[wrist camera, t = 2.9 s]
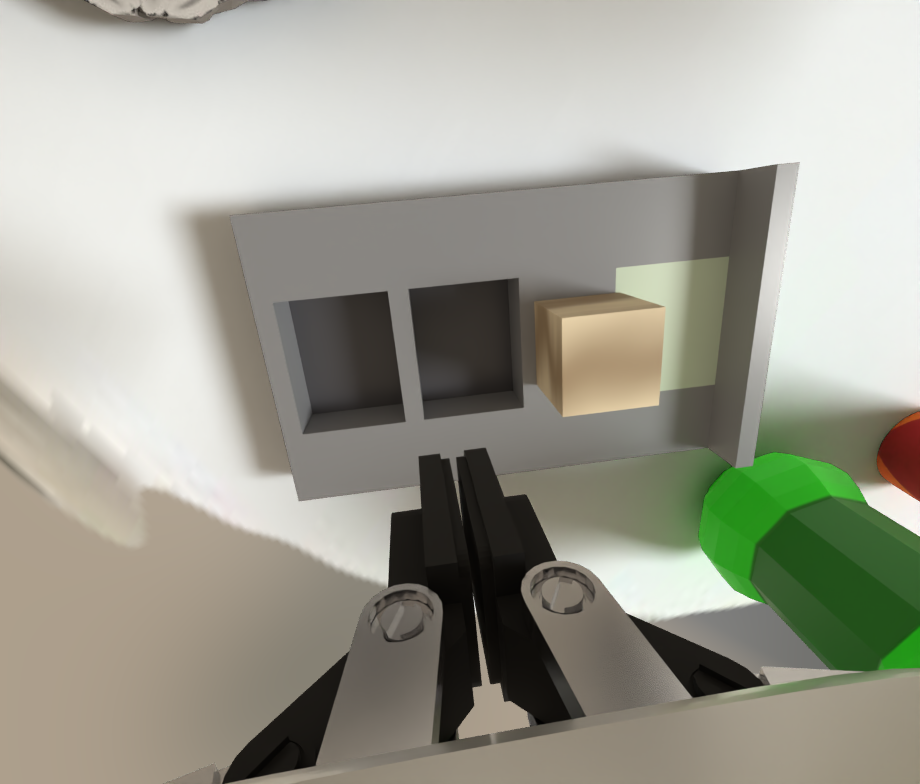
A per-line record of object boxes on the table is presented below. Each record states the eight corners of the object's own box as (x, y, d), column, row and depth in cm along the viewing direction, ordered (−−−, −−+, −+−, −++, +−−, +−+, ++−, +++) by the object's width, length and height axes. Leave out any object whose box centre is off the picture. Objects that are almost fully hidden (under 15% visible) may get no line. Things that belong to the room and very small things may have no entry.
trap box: (250, 216, 23) (206, 214, 18) (719, 175, 25) (799, 162, 20) (309, 474, 29) (287, 528, 24) (694, 425, 30) (752, 466, 25)
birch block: (534, 301, 23) (561, 318, 19) (620, 292, 24) (665, 307, 20) (536, 384, 25) (562, 417, 21) (617, 375, 25) (658, 405, 21)
